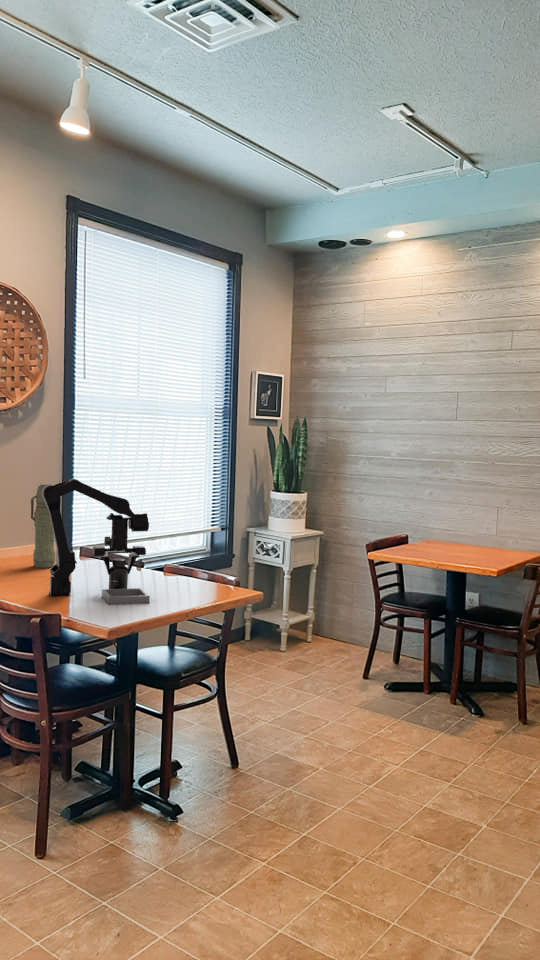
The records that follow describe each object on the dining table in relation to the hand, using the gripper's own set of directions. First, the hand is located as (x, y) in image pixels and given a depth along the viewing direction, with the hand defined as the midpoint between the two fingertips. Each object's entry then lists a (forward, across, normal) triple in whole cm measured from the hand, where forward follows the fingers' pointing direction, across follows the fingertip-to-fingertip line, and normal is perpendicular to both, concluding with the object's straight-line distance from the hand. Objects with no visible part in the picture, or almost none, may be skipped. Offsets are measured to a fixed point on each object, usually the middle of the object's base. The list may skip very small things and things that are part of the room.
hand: (118, 574), depth 284 cm
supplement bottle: (+7, 0, 0) cm, 7 cm away
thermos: (+7, +21, -59) cm, 63 cm away
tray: (+6, 0, +14) cm, 15 cm away
